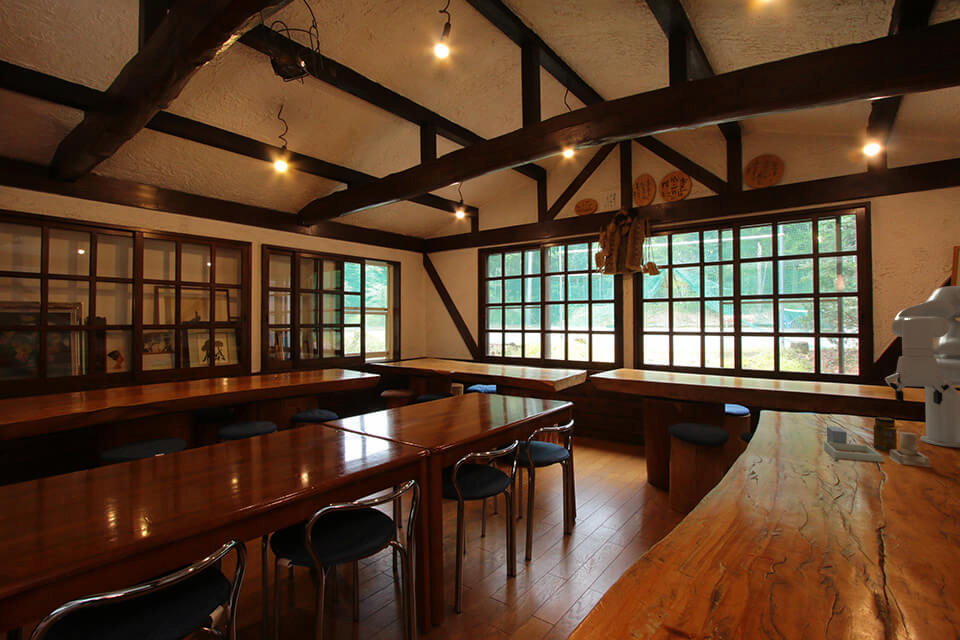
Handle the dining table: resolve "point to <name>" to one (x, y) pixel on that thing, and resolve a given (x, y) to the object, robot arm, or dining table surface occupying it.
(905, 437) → the dowel
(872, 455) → the tray
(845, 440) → the block
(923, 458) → the socket block
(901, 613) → the dining table surface
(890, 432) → the condiment
